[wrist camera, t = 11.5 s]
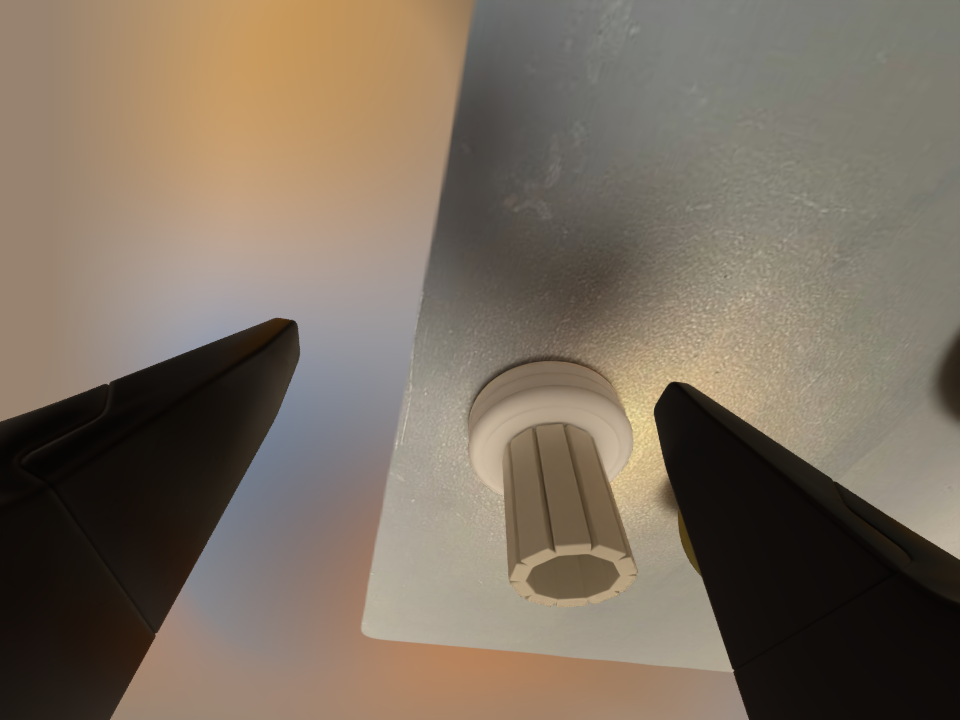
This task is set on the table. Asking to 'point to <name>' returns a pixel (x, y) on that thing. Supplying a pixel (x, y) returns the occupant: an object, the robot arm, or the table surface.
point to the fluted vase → (562, 520)
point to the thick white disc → (546, 415)
